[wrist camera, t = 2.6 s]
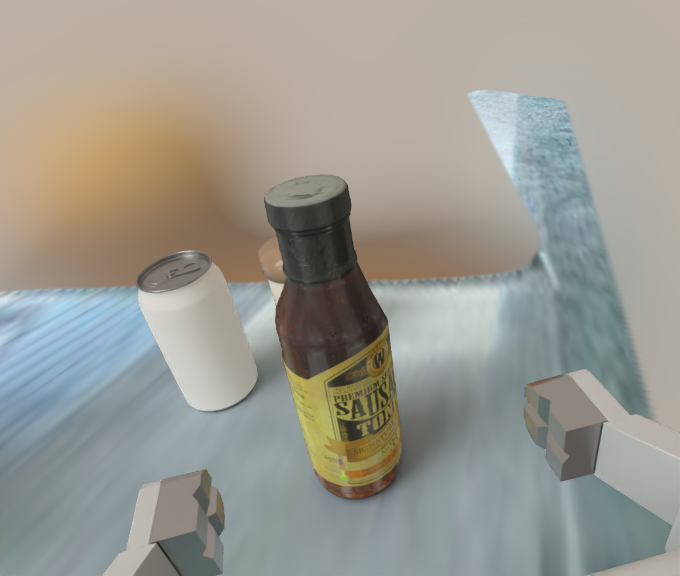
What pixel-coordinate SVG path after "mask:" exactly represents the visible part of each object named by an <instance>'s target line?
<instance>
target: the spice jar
mask: <svg viewBox="0 0 680 576" xmlns="http://www.w3.org/2000/svg"><path fill="white" fill-rule="evenodd" d="M258 255H259V259H260V263H261V266H262V269H263V273H264V275H265V277H266V278H267V279H268V281H269V284H270V287H271V291H272V294H273V297H274V301H275V304H276V306H277V303H278V299H279V297H280V295H281V292H282V290H283V286H284V283H285V281H286V276H285V274H284V272H283V269H282V266H283V261H282V256H281V252H280V250H279V243H278V240H277V236H274V237H272V238H271V239H269V240H268V241H266V242H265V243H264V244H263V245H262V246H261V248H260V250H259V252H258Z"/></svg>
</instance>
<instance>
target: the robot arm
mask: <svg viewBox="0 0 680 576" xmlns="http://www.w3.org/2000/svg"><path fill="white" fill-rule="evenodd" d="M525 397H526V398H527V400H528V401H529V402H528V403H527V405H526V406H525V407H524V419H525V422H526V426H527V429H528V431H529V433H530V435H531V437H532V439H533V440H534V442H535V444H536V445H538V446H540V447H542V448H544V449H546V461H547V462H548V464H549V465H550V467H551V468H552V470H553V471H554V473H555V474H556V476H557V477H558V479H559V480H560V482H561V481H565V480H569V479H573V478H577V477H582V476H586V475H590V474H594V473H595V474H594V475H595V476H596V477H598V478H599V479H601V480H602V481H604V482H606V483H607V484H609V485H610V486H612V487H613V488H615V489H616V490H618V491H619V492H621V493H623V494H624V495H626V496H627V497H629V498H630V499H632V500H633V501H635V502H636V503H638V504H639V505H641V506H643V507H644V508H646V509H647V510H649V511H650V512H652V513H653V514H655V515H656V516H658V517H660V518H661V519H663V520H664V521H666V522H667V523H669V524H670V525H672V528H671V530H670V533H669V536H668V539H667V542H666V546H665V551H666V552H667V553H664V554H660V555H657V556H653V557H650V558H646V559H643V560H639V561H635V562H632V563H628V564H625V565H621V566H618V567H614V568H611V569H607V570H603V571H600V572H596V573H593V574H589V575H586V576H680V432H677V431H675V430H673V429H670V428H668V427H666V426H663V425H661V424H659V423H656V422H654V421H652V420H649V419H647V418H644V417H642V416H640V415H637V414H635V415H630V414H629V413H628V412H627V411H626V410H625V409H624V408H623V407H622V406H621V405H620V404H619V402H618V401H617V400H616V399H615V398H614V397H613V396H612V395H611V394H610V393H609V392H608V391H607V390H606V389H605V387H604V386H603V385H602V384H601V383H600V382H599V381H598V380H597V379H596V378H595V377H594V376H593V375H592V374H591V372H590V371H588V370H586V369H583V370H579V371H575V372H571V373H567V374H565V375H563V374H562V375H559V376H555V377H552V378H548V379H544V380H541V381H537V382H533V383H530V384H527V385H526V387H525ZM224 525H225V515H224V507H223V502H222V498H221V495H220V493H219V491H218V489H216V488H214V487H212V486H211V476H210V475H209V473H208V471H207V470H201V471H196V472H192V473H188V474H184V475H179V476H175V477H171V478H167V479H163V480H159V481H155V482H151V483H147V484H143V486H142V487H141V489H140V491H139V494H138V498H137V503H136V507H135V512H134V517H133V521H132V526H131V530H130V535H129V539H128V544H127V548H126V551H123V552H120V553H119V554H118V555H117V557H116V558H115V559H114V561H113V562H112V563H111V565H110V566H109V567H108V569H107V570H106V571H105V572H104V574H103V575H102V576H216V575H220V574H222V572H223V550H224V545H223V544H222V542H221V540H220V538H219V536H220V534H221V532H222V531H223V529H224Z"/></svg>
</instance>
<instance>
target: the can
mask: <svg viewBox="0 0 680 576" xmlns="http://www.w3.org/2000/svg"><path fill="white" fill-rule="evenodd" d="M135 284H136V286H137V288H138V289H139V293H138V303H139V306H140V308H141V310H142V313H143V315H144V317H145V319H146V321H147V323H148V325H149V327H150V329H151V331H152V333H153V335H154V337H155V339H156V341H157V343H158V345H159V348H160V350H161V352H162V354H163V356H164V358H165V360H166V362H167V364H168V366H169V368H170V370H171V372H172V374H173V376H174V378H175V380H176V382H177V384H178V386H179V388H180V390H181V391H182V393H183V395H184V397H185V399H186V401H187V402H188V404H189V405H190V406H191V407H193V408H195V409H197V410H202V411H208V412H213V411H220V410H224V409H227V408H230V407H232V406H234V405H236V404H237V403H239V402H240V401H242V400H243V399H244V398H245V397H246V396H247V395H248V394H249V393H250V392H251V390H252V389H253V387H254V385H255V383H256V381H257V377H258V371H257V367H256V364H255V361H254V358H253V355H252V353H251V350H250V347H249V344H248V341H247V339H246V336H245V333H244V330H243V327H242V324H241V322H240V319H239V316H238V313H237V311H236V308H235V305H234V302H233V299H232V297H231V294H230V291H229V289H228V286H227V283H226V281H225V278H224V276H223V273H222V272H221V270H220V269H219V268H218V267H217V266H216V265H215V264H214V263H213V262H212V259H211V257H210V255H209V254H208V253H206V252H203V251H197V250H189V251H181V252H177V253H173V254H170V255H167V256H164V257H162V258H160V259H158V260H156V261H154V262H152V263H151V264H149V265H148V266H146V267H145V268H144V269H143V270H142V271H141V272H140V273H139V274H138V276H137V277H136V281H135Z"/></svg>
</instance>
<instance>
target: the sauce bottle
mask: <svg viewBox="0 0 680 576" xmlns="http://www.w3.org/2000/svg"><path fill="white" fill-rule="evenodd" d="M264 202H265V208H266V211H267V218H268V222H269V224H270V225H271V226H272V227H273V228H274V229H275V231H276V236H277V240H278V243H279V250H280V252H281V256H282V261H283V266H282V269H283V272H284V274H285V276H286V281H285V283H284V286H283V290H282V292H281V295H280V297H279V299H278V303H277V306H276V317H275V323H276V330H277V333H278V336H279V340H280V342H281V347H282V358H283V362H284V366H285V369H286V373H287V376H288V380H289V384H290V388H291V391H292V395H293V399H294V402H295V406H296V410H297V413H298V417H299V421H300V425H301V429H302V432H303V436H304V440H305V443H306V447H307V451H308V454H309V458H310V461H311V463H312V465H313V467H314V470H315V473H316V475H317V477H318V478H319V480H320V481H321V483H322V484H323V486H324V487H325V488H326V489H327V490H329V491H330V492H331V493H332V494H334V495H337V496H339V497H342V498H346V499H361V498H366V497H369V496H371V495H373V494H376V493H377V492H380V491H381V490H383V489H384V488H386V487H388V485H389V483H390V482H392V481H393V480H394V479H395V476H396V474H397V471H398V467H399V464H400V457H401V451H402V438H401V429H400V420H399V412H398V404H397V395H396V384H395V378H394V370H393V360H392V353H391V346H390V335H389V327H388V320H387V318H386V316H385V314H384V312H383V310H382V309H381V307H380V305H379V303H378V302H377V300H376V298H375V296H374V295H373V293H372V291H371V289H370V288H369V285H368V283H367V281H366V279H365V277H364V275H363V273H362V271H361V269H360V267H359V265H358V263H357V255H356V252H355V250H354V247H353V241H352V232H351V227H350V221H349V216H350V211H351V199H350V196H349V190H348V185H347V183H346V182H345V181H344V180H343V179H341V178H340V177H338V176H334V175H312V176H305V177H300V178H295V179H292V180H289V181H286V182H283V183H281V184H278V185H277V186H275V187H273V188H272V189H270V190H269V191H268V192H267V193H266V194H265V197H264Z"/></svg>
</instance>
